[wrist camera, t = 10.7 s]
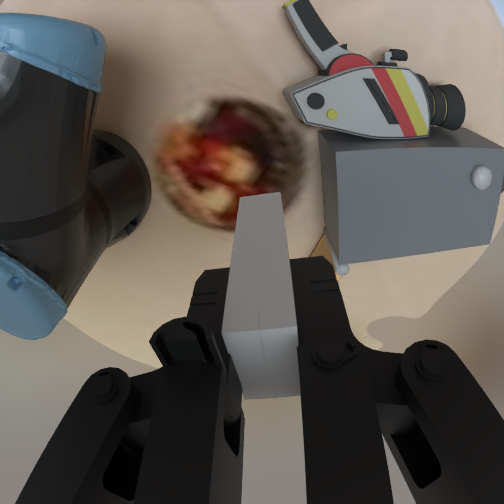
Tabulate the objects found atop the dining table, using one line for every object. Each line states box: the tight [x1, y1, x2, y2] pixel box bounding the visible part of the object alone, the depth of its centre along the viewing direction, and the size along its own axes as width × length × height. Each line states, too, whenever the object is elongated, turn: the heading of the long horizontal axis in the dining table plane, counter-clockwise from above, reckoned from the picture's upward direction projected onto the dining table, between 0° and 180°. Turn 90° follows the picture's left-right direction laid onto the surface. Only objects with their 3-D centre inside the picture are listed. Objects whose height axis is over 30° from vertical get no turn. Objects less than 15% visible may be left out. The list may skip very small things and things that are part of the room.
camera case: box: [318, 127, 504, 265], centre depth 31 cm, size 23×12×10 cm, turn 99°
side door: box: [310, 228, 349, 282], centre depth 40 cm, size 16×2×8 cm, turn 158°
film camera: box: [282, 0, 465, 139], centre depth 25 cm, size 7×19×15 cm
